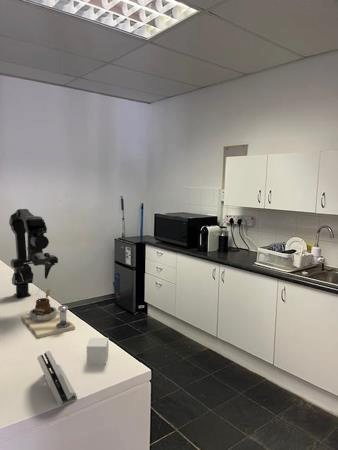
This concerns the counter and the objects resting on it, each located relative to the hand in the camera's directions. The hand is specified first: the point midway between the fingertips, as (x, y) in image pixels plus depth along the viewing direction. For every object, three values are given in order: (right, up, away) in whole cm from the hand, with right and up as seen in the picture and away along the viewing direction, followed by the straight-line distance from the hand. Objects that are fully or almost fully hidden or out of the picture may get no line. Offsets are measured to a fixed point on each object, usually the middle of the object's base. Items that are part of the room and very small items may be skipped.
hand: (35, 280), depth 148 cm
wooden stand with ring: (+11, -15, -14) cm, 23 cm away
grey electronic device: (+28, -21, -56) cm, 66 cm away
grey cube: (+36, -19, -41) cm, 58 cm away
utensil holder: (+7, -13, -10) cm, 18 cm away
